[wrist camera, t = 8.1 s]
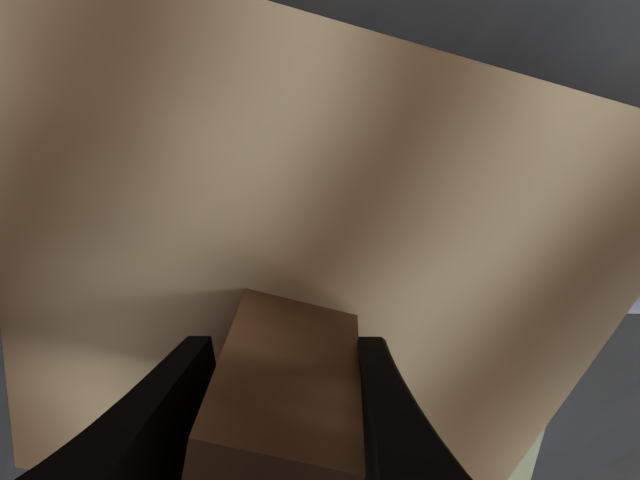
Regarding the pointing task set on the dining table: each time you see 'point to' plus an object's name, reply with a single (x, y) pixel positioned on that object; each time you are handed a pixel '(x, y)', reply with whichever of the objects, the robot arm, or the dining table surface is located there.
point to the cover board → (299, 230)
